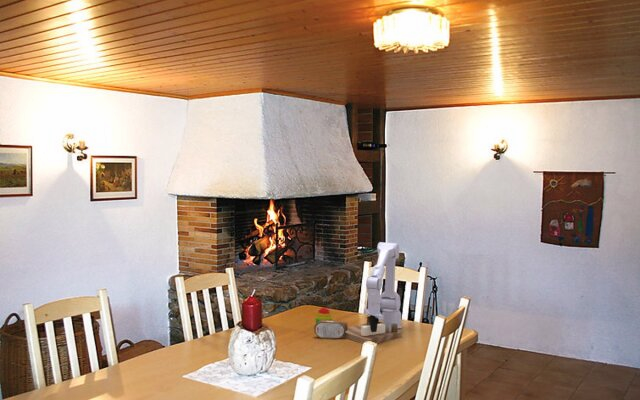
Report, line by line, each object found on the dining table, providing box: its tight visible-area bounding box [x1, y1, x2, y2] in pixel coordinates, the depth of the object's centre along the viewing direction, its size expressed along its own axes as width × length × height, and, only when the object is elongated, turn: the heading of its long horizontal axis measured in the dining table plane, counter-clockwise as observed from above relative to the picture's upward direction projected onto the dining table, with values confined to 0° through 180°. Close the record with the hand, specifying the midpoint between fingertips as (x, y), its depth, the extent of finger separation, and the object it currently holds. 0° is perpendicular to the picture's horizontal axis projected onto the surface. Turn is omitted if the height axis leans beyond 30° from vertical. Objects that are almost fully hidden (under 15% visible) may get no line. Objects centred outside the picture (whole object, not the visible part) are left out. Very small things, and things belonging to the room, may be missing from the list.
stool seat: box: [341, 317, 403, 345], centre depth 283 cm, size 22×22×6 cm
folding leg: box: [361, 323, 389, 336], centre depth 278 cm, size 15×3×4 cm, turn 119°
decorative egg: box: [315, 307, 333, 324], centre depth 299 cm, size 8×8×10 cm
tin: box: [313, 320, 346, 340], centre depth 280 cm, size 15×3×8 cm, turn 84°
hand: (373, 331), depth 275 cm, fingers closed, pressing on folding leg
